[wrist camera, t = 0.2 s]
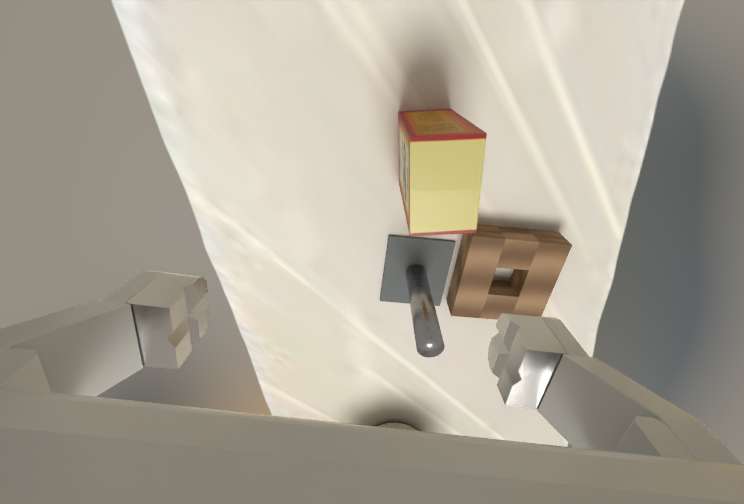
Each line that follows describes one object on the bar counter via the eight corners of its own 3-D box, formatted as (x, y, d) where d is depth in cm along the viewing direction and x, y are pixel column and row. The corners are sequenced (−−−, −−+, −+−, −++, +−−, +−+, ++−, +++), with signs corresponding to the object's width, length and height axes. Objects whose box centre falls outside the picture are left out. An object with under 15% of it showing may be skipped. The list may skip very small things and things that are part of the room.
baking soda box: (446, 182, 48) (477, 234, 34) (399, 185, 48) (410, 237, 34) (450, 109, 43) (487, 134, 29) (398, 111, 44) (410, 138, 30)
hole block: (466, 223, 51) (472, 235, 48) (558, 232, 52) (572, 245, 48) (446, 300, 58) (451, 315, 54) (528, 306, 59) (538, 322, 55)
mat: (388, 235, 52) (389, 236, 52) (454, 241, 52) (455, 242, 52) (380, 299, 58) (379, 300, 57) (439, 304, 58) (439, 305, 58)
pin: (407, 263, 54) (419, 336, 40) (427, 265, 54) (446, 338, 40) (404, 280, 55) (414, 356, 42) (424, 282, 56) (441, 358, 42)
